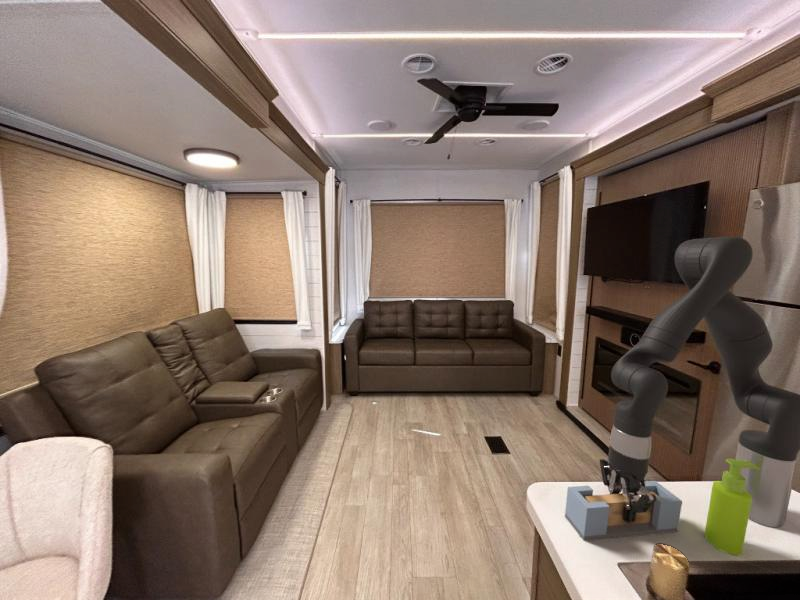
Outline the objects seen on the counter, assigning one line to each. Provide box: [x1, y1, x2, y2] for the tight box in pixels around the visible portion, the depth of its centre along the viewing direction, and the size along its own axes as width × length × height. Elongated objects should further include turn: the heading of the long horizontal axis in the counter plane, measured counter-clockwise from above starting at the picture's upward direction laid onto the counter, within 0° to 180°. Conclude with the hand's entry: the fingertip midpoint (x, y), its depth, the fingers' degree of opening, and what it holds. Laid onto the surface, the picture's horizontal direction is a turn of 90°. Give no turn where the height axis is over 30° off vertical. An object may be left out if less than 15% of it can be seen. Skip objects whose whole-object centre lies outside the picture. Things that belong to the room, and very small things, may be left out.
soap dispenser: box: [704, 458, 762, 556], centre depth 68 cm, size 6×7×20 cm
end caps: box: [564, 480, 683, 541], centre depth 73 cm, size 24×6×8 cm, turn 97°
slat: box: [585, 491, 659, 526], centre depth 73 cm, size 18×2×6 cm, turn 97°
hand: (621, 514), depth 73 cm, fingers open, 3 cm apart
